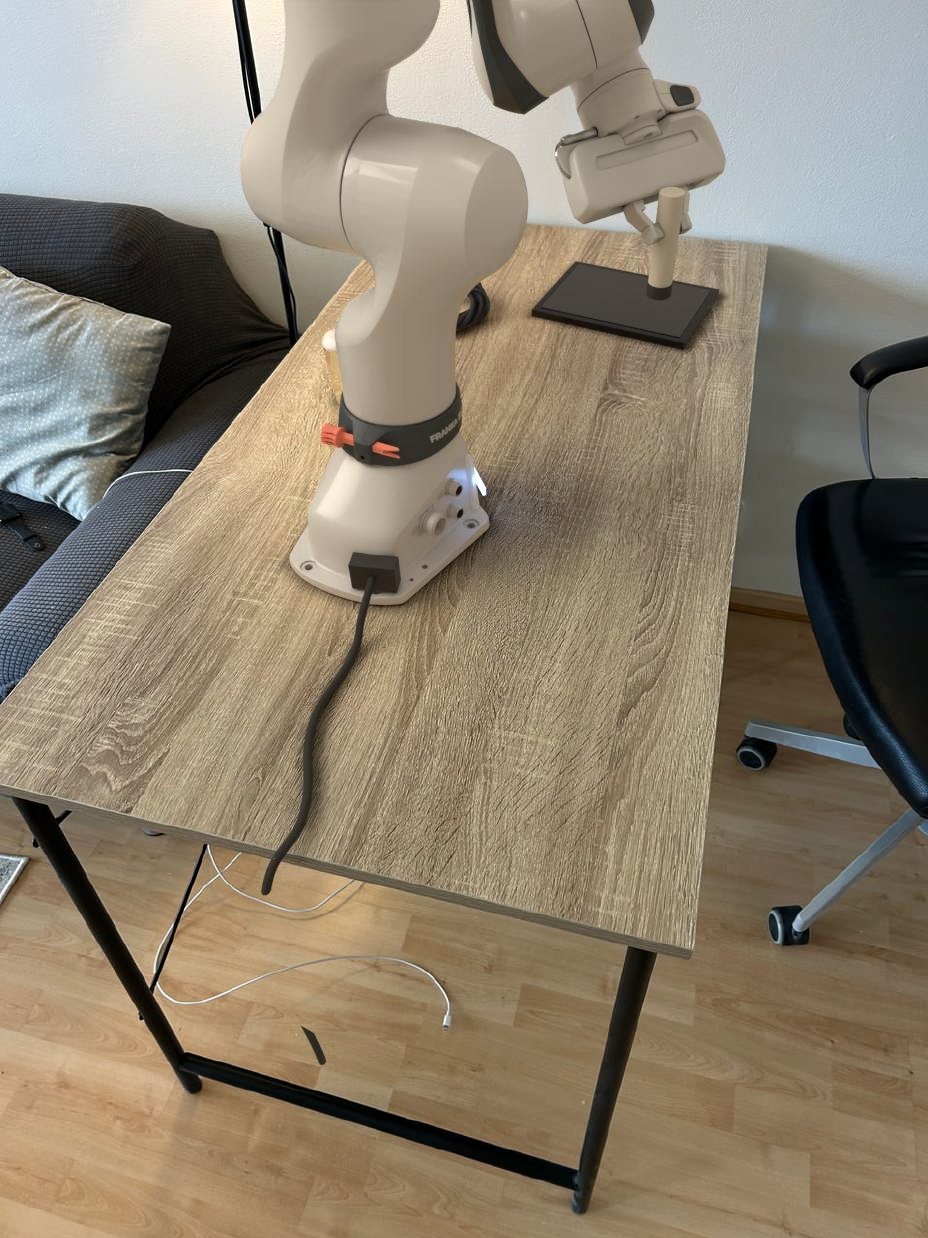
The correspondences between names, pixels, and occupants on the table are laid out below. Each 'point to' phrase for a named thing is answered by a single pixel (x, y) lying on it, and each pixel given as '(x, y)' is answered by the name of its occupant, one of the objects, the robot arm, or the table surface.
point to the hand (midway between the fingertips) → (670, 236)
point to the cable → (474, 308)
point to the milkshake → (332, 362)
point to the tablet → (625, 305)
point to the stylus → (665, 243)
